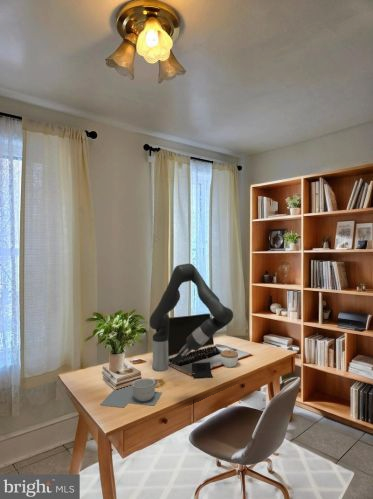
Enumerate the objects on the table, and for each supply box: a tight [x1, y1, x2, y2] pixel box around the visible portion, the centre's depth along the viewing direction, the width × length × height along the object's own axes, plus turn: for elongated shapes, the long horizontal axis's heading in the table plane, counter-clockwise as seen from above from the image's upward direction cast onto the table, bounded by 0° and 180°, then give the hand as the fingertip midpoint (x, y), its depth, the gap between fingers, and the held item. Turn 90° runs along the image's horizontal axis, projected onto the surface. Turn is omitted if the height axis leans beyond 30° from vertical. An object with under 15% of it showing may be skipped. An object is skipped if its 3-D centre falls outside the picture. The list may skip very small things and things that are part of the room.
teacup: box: [131, 377, 159, 401], centre depth 154 cm, size 14×11×8 cm
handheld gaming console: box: [191, 362, 214, 380], centre depth 180 cm, size 12×7×10 cm
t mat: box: [99, 384, 163, 409], centre depth 155 cm, size 22×25×1 cm
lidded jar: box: [220, 349, 239, 368], centre depth 194 cm, size 11×11×9 cm
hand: (173, 362), depth 150 cm, fingers closed
